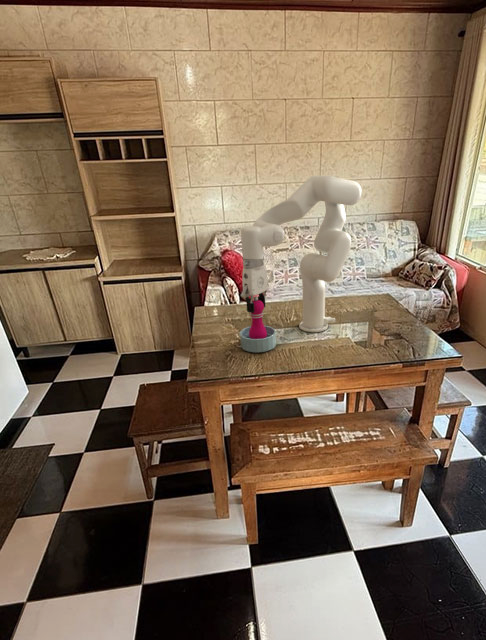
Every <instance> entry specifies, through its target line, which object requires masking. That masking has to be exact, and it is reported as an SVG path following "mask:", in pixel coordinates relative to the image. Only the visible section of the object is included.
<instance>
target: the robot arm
mask: <svg viewBox="0 0 486 640" xmlns="http://www.w3.org/2000/svg"><path fill="white" fill-rule="evenodd" d="M361 197H362V187H361V185H360V183H359V182H357V181H356V180H352V179H351V180H350V179H346V178H340V177H337V176H332V175H312V176H310V177H309V178H307V179H306V180H305V181H304V182H303V183H302V184H301V185H300V186H299V187H298V188H297V189H296V190H295V191H294V192H293V193H292V194H291V195H290V196H289V197H288V198H287V199H285V200H282V201H281V202H279V203H277V204H276V205H273V206H272V207H270V208H269V209H267V210H266V211H264V212H263V213H262V214H261V215H260V216H259V217H258V218H257V219H256V220H255V221H254V222H253V224H252V225H247V226H244V227H241V229H240V240H241V253H242V266H243V268H242V274H241V275H242V279H241V282H242V291H241V293H240V297H241V299H243V301H244V302H245V303H246V312H247V313H254V303H253V300H254V299H253V298H254V297H255V296H257V297H258V300H260V301H262V302H263V304H264V308H266V297H267V292H268V290H269V286H270V284H269V277H268V273H267V272H268V271H267V268H266V264H265V260H264V259H265V258H264V247H277V246H279V245H281V244H282V243H283V242H284V240H285V237H286V233H285V230H284V228H283V226H281V225H283V224H286V223H289V222H294V221H297V220H300V219H302V218H304V217H305V216H306V215H307V214H308V213H309V212H310V211H311V210H312V209H313V208H314V207H315V206H316V205H317V204H318V203H319V202H324V205H325V206H324V207H325V214H324V216H323V220H322V222H321V225H320V226H319V229H318V231H317V232H316V235H315V237H314V241H313V246H314V249H315V250H316V251H318V252H320V253H323V254H319V253H316V252H315V253H314V252H310V253H307V254H304V255H303V257H302V258H301V259H300V262H299V269H300V271H299V272H300V275H301V283H302V321H301V322H299V324H298V327H299V329H300V330H301V331H304V332H307V333H320V332H323V331H326V330H327V329H328V328H329V323H336V318H335V317H332V316H325V315H326V314H325V313H326V283H331V282H333V281H335V280H336V279H337V278H338V276H339V275H340V273H341V272H342V269H343V267H344V265H345V262H346V260H347V258H348V256H349V254H350V251H351V248H352V238H351V236H350V234H349V233H348V232H347V231H344V230H343V228H344V226H345V224H346V219H347V217H346V216H347V215H346V210H345V206H354V205H356V204H357V203H358V202H359V200H361ZM324 254H326V255H324Z"/></svg>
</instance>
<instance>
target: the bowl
mask: <svg viewBox="0 0 486 640" xmlns="http://www.w3.org/2000/svg"><path fill="white" fill-rule="evenodd" d="M264 327H265V329H266V331H267V337H266V338H263V339H250V337H249V331H250V328H251V325H250V326H247V327H244V328H242V329H241V330H240V332H239V341H240V348H241V349H242V350H244V351H245V352H248V353H249V352H250V353H255V354H256V353H257V354H258V353H265V352H268V351H269V352H270V351H271V350H273V349H274V348H276V346H277V331H276V329H275V328H274V327H272V326H269V325H264Z"/></svg>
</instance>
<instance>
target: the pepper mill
mask: <svg viewBox="0 0 486 640" xmlns="http://www.w3.org/2000/svg"><path fill="white" fill-rule="evenodd" d="M253 303H254V313H251V312H249V314H250V315H249V316H250V318H251V325H250V326H251V328H250V331H249V337H250V339H263V338H266V337H267V331H266V329H265V327H264V326H265V324H264V322H263V317H264V309H265V307H264V304H263V302H262V301H260V300H258V295H256V296H254V297H253Z"/></svg>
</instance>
